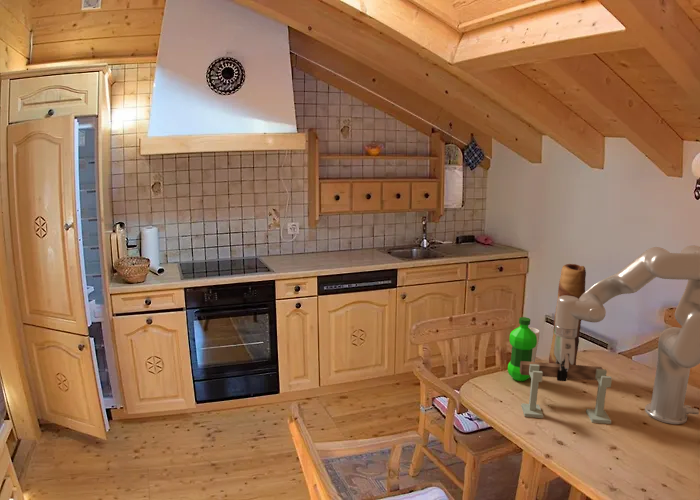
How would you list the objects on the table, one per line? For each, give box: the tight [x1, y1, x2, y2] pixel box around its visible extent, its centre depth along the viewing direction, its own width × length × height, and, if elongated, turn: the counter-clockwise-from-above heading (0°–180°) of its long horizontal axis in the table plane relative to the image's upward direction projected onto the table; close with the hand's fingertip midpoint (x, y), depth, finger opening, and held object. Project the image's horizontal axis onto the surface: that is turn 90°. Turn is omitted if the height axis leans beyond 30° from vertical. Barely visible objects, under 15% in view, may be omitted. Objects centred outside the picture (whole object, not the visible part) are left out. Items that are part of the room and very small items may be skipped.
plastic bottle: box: [507, 316, 537, 382], centre depth 204 cm, size 10×10×25 cm
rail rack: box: [520, 364, 613, 425], centre depth 178 cm, size 28×7×17 cm, turn 82°
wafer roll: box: [548, 263, 587, 365], centre depth 207 cm, size 10×11×45 cm
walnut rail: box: [520, 361, 604, 381], centre depth 187 cm, size 28×3×4 cm, turn 82°
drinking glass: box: [528, 326, 540, 362], centre depth 219 cm, size 7×7×15 cm
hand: (560, 377), depth 188 cm, fingers closed on walnut rail, 3 cm apart
